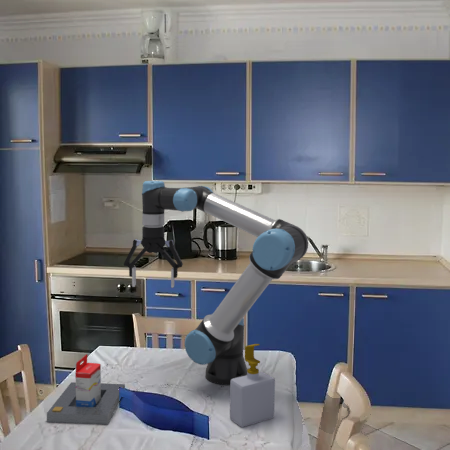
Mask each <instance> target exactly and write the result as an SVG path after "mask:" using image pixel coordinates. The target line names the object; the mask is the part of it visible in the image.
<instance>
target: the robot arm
mask: <svg viewBox="0 0 450 450" xmlns="http://www.w3.org/2000/svg"><path fill="white" fill-rule="evenodd" d="M141 192H142V193H141V196H142V197H141V200H142V212H141V214H142V225H143V226H142V231H141V232H142V233H141V234H142V236H141V237H142V238H141V240H140V239H138V238H135V239H133V241H132V246H131V248H130V250H129V252H128V254H127V256H126V258H125V261H124V262H123V265H124V266H125V267H128V276H129V277H130V278H131V287H132V288H134V287H136V285H137V266H135V264H136V263H138V262H139V261H140V259H141V258H142V257H143V255H144V254H145V253H146V252H147V253H148V254H153V253H154V254H159V253H160V254H161V255H162V256H163V257H164V258H165V260H166V261H167V263H168V264H169V265H170V266H171V269H170V274H171V275H170V280H171V281H170V288H172V289H173V288H174V287H175V279H177V278H178V269H179V268H182V267H183V265H184V263H183V261H182V259H181V257H180V255H179V253H178V250H177V249H176V247H175V242H174V240H173V239H170V240H165V227H164V225H165V210H166V211H167V210H168V211H178V212H181V213H182V212H192V211H193V210H194V209H197V210H199V211H202V212H203V213H206V214H208V215H209V216H211V217H214V218H216V219H218V220H220V221H223V222H225V223H227V224H229V225H230V226H231V225H232V226H233V227H236V228H237V229H240V230H242V231H244V232H246V233H248V234H250V235H251V236H254V237H256V239H255V240H254V243H253V244H252V251H251V253H250V254H249V257H248V259H249V264H247V266H246V267H245V269H244V271H243V272H242V273H241V275H240V276H239V278H237V280H236V281H235V283H234V284H233V286H232V287H230V290H229V291H228V292H227V294H226V295H225V296H224V298H223V299H222V301H221V302H220V303H219V305H218V306H217V307H216V309H215V310H214V312H213V313H211V314H207V315H205V316H204V317H203V319H202V321H200V323H199V324H198V326H197V327H196V328H195V329H193V330H191V331H189V333H187V335H186V337H185V338H184V348H185V352H186V355H187V356H188V358H189V359H190V360H191V361H193V362H194V363H195V364H198V365H202V366H204V365H206V368H205V379H206V380H207V381H209V382H211V383H213V384H217V385H226V386H230V381H231V379H234V378H238V377H242V376H246V375H247V369H248V367H247V364H246V361H245V356H244V341H245V340H244V338H245V335H244V334H245V323H244V322H245V318H244V317H245V316H246V314H247V313H248V312H249V311H250V309H251V308H252V307H253V306H254V304H255V303H256V301H257V300H258V299H259V298H260V297H261V295H262V294H263V292H264V291H265V290H266V289H267V288H268V286H269V285H270V283H271V282H272V280H279V279H280V278H281V277H282V276H283V274H284V273H285V272H286V270H288V268H289V266H291V265H292V263H295V262H297V261H300V260H301V259H302V258H303V257H304V256H306V253H307V251H308V249H309V240H308V235H307V234H306V233H305V231H304V230H303V229H302V228H300V227H299V226H297V225H295V224H293V223H290V222H288V221H285V220H283V219H280V218H277V219H276V220H275V219H273V218H271V217H269V216H266V215H264V214H262V213H260V212H258V211H256V210H253V209H251V208H249V207H246V206H244V205H242V204H240V203H238V202H235V201H233V200H231V199H228V198H227V197H224V196H222V195H219V194H218V193H215V192H213V190H212V189H211V188H210V187H209V186H203V185H198V186H191V187H189V186H188V187H187V186H185V187H166V186H165V181H162V180H161V181H160V180H145V181H144V182H143V183H142V191H141ZM140 244H141V247H142V248H143V249H141V250H140V252H139V253H138V254H137V255H136V257H135V258H134V259H133V260H132V261H131V259H132V258H133V256H134V254H135V252H136V250H137V247H139V246H140ZM165 246H167V247H168V248H169V250H170V252H171V254H172V255H173V258H172V257H171V255H169V253H168V251H166V249H165V248H164V247H165ZM174 260H175V261H174ZM130 261H131V262H130Z"/></svg>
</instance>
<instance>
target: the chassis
mask: <svg viewBox="0 0 450 450" xmlns="http://www.w3.org/2000/svg"><path fill="white" fill-rule="evenodd" d="M119 387H122V388H125V389H126V384H125V383H102V382H101V399H100V400H99V401H98V403H97V404H96V405H95V406H94V407H76V381H75V382H70V383H69V385H68V386H67V387H66V388H65V389H64V391H63V392H62V393H61V395H60V396H59V397H58V398H57V400H56V401H55V402H54V403H53V405H52V406H51V407H50V408H49V410H48V411H47V412H46V423H56V424H57V423H59V424H61V423H63V424H87V425H88V424H89V425H109V423H110V421H111V419H112V417H113V416H114V413H115V411H116V410H117V408H118V406H119V404H120V402H119V390H118V389H119Z"/></svg>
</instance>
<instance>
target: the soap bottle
mask: <svg viewBox="0 0 450 450" xmlns="http://www.w3.org/2000/svg"><path fill="white" fill-rule="evenodd" d="M257 346H261V345H260V343H254V344H249V345H245V347H244V360H245V363H246V362H247V363H248V366H250V367H249V368H247V375H246V376H242V377H238V378H234V379H231V381H230V385H229V387H230V392H229V395H230V396H229V418H230V420H231V421H232V422H234V423H235V424H236V425H238V426H239V427H240V428H244V426H245V427H247V426H251V425H254V424H257V423H260V422H264V421H267V420H271V419H273V418H274V417H275V389H276V388H275V386H276V380H275V379H276V378H275V377H273V376H271V375H270V374H268V373H266V372H264V371H260V370H259V369H258V368H257V367H258V365H259V364H260V363H261V361H260V360H258V359H257V358H255V347H257Z"/></svg>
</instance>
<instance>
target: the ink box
mask: <svg viewBox="0 0 450 450" xmlns="http://www.w3.org/2000/svg"><path fill="white" fill-rule="evenodd" d="M101 366H102V364H101V363H96V362H88V354H87V353H86V354H85V355H83V356H82V358H80V359H78V361H76V363H75V375H74V376H75V382H76V407H94V406H95V405H96V404H97V403H98V401H99V400H100V399H101V383H102V380H101V378H102V376H101V375H102V373H101V372H102V371H101V370H102V369H101Z"/></svg>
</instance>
